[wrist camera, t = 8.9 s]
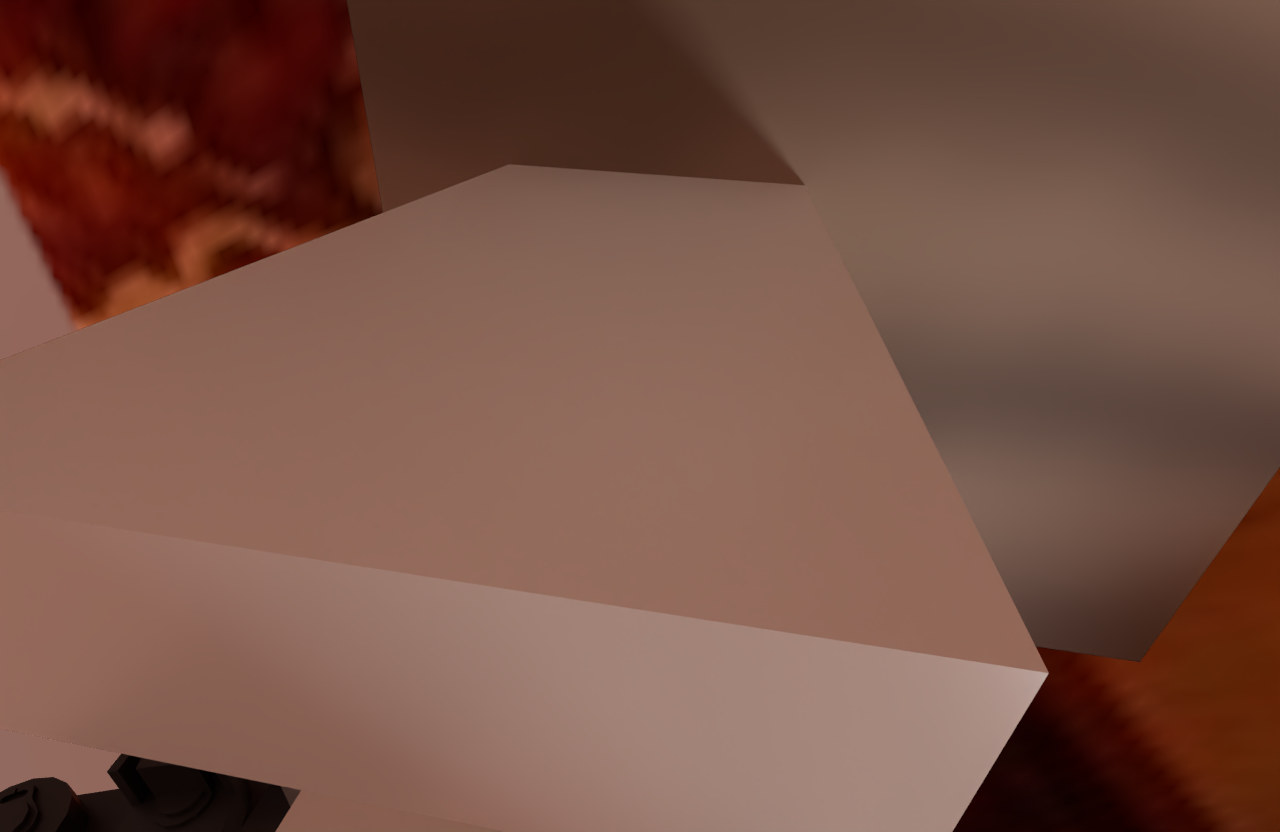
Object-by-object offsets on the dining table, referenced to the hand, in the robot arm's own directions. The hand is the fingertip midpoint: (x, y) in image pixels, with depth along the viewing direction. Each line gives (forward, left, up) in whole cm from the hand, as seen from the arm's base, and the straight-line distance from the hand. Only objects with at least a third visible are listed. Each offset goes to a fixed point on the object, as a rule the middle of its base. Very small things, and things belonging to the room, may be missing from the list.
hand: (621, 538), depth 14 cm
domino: (+7, 0, -2) cm, 7 cm away
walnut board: (+16, -4, -3) cm, 17 cm away
